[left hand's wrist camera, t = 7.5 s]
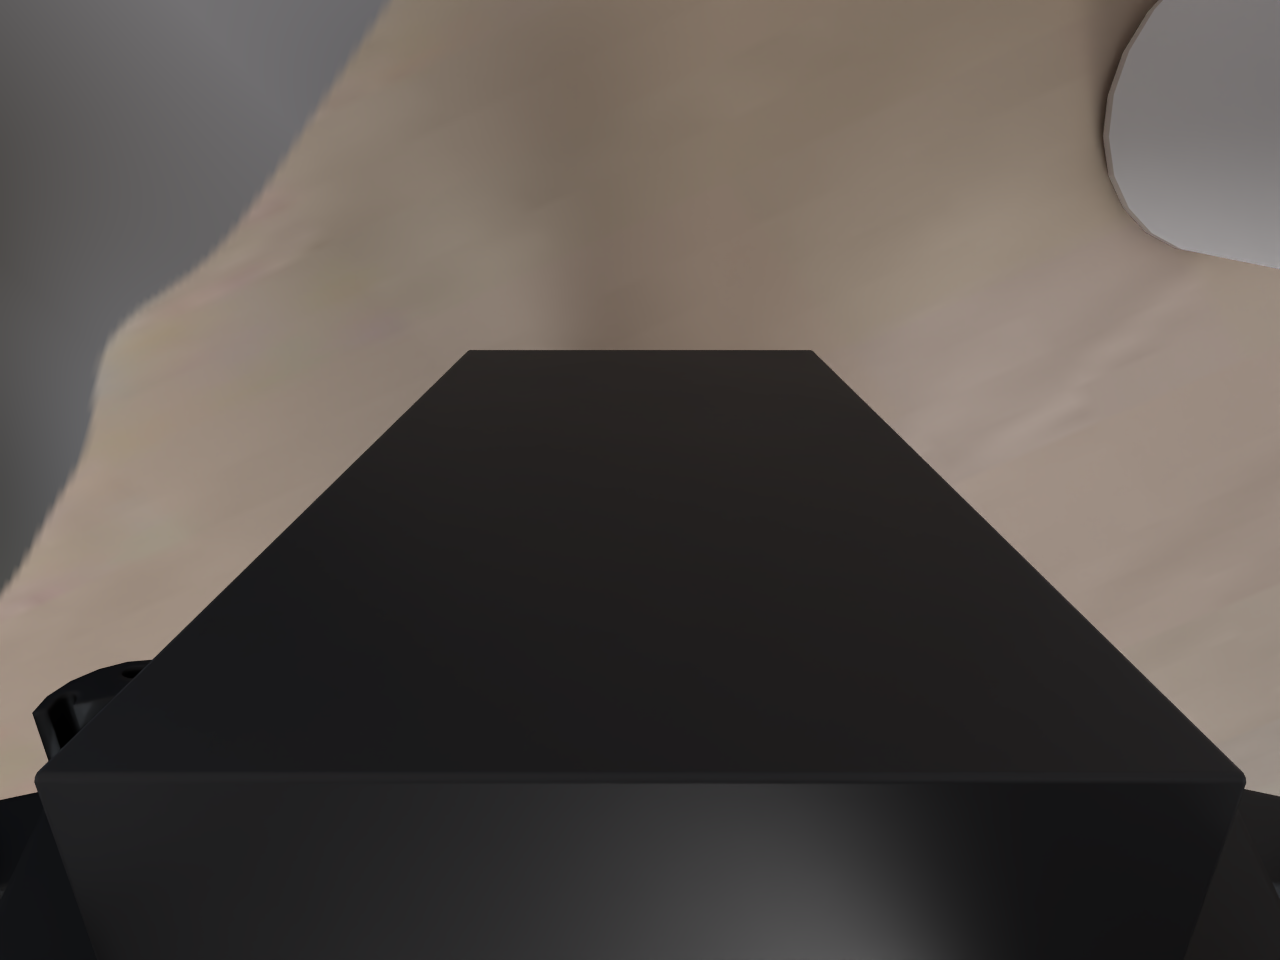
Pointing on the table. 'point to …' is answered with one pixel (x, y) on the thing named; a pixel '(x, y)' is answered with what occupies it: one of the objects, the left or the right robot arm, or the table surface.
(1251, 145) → the mug
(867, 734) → the box
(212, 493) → the table surface
